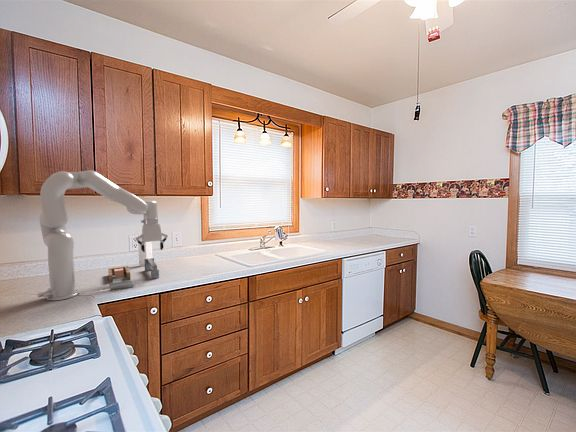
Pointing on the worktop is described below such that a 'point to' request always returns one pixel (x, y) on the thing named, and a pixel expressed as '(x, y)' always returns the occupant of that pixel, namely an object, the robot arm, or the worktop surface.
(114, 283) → the cubby
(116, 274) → the cube
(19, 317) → the worktop surface
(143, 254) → the milk
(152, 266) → the grey long bar
